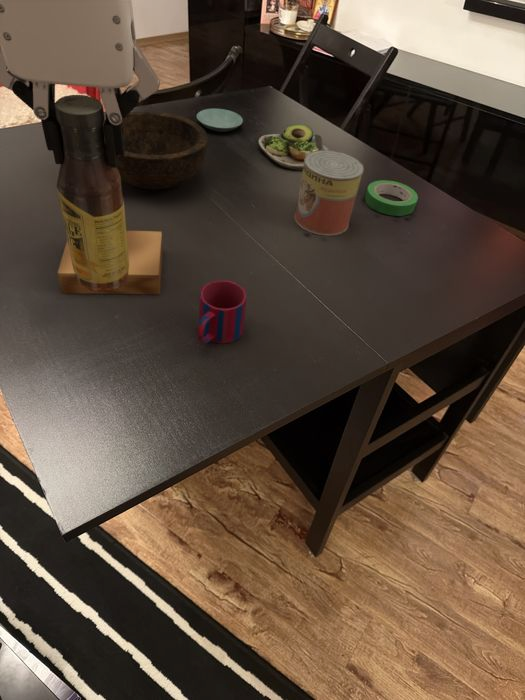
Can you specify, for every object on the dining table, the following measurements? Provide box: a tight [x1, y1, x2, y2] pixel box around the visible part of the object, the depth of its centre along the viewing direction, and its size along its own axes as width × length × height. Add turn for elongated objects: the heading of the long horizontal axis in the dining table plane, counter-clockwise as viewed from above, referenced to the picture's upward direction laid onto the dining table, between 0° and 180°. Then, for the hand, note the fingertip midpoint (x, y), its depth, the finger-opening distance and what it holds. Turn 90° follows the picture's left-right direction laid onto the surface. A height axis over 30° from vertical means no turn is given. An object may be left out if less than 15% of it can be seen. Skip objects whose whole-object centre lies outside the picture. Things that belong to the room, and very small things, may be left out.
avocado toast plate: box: [257, 123, 329, 171], centre depth 115 cm, size 19×18×5 cm
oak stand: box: [57, 230, 164, 295], centre depth 79 cm, size 15×12×4 cm
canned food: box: [294, 149, 365, 237], centre depth 94 cm, size 11×11×12 cm
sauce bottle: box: [55, 94, 129, 291], centre depth 49 cm, size 7×6×20 cm
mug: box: [196, 279, 248, 344], centre depth 70 cm, size 7×10×7 cm
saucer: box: [196, 108, 244, 133], centre depth 123 cm, size 12×12×2 cm
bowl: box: [103, 110, 209, 190], centre depth 98 cm, size 22×22×10 cm
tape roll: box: [364, 179, 419, 217], centre depth 105 cm, size 11×11×3 cm
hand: (88, 157), depth 46 cm, fingers closed on sauce bottle, 4 cm apart
